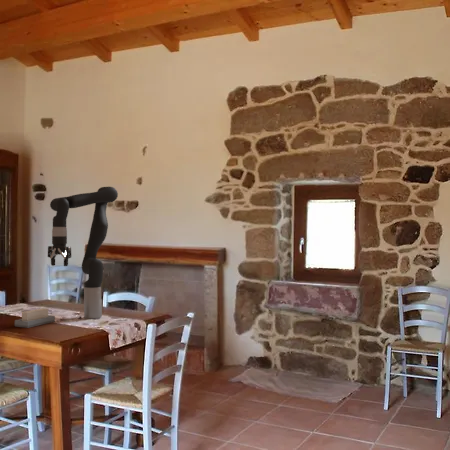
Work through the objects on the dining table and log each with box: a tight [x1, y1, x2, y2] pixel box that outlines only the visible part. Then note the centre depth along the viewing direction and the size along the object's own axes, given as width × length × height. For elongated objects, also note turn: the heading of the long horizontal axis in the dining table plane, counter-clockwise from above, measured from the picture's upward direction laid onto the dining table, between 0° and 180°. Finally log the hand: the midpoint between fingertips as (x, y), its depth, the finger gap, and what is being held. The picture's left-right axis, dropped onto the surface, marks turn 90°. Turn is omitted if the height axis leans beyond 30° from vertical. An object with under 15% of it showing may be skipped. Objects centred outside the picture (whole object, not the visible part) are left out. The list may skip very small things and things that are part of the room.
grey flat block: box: [14, 314, 56, 329], centre depth 278 cm, size 19×9×3 cm, turn 155°
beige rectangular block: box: [21, 308, 49, 321], centre depth 278 cm, size 14×4×6 cm, turn 152°
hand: (59, 265), depth 282 cm, fingers open, 8 cm apart
